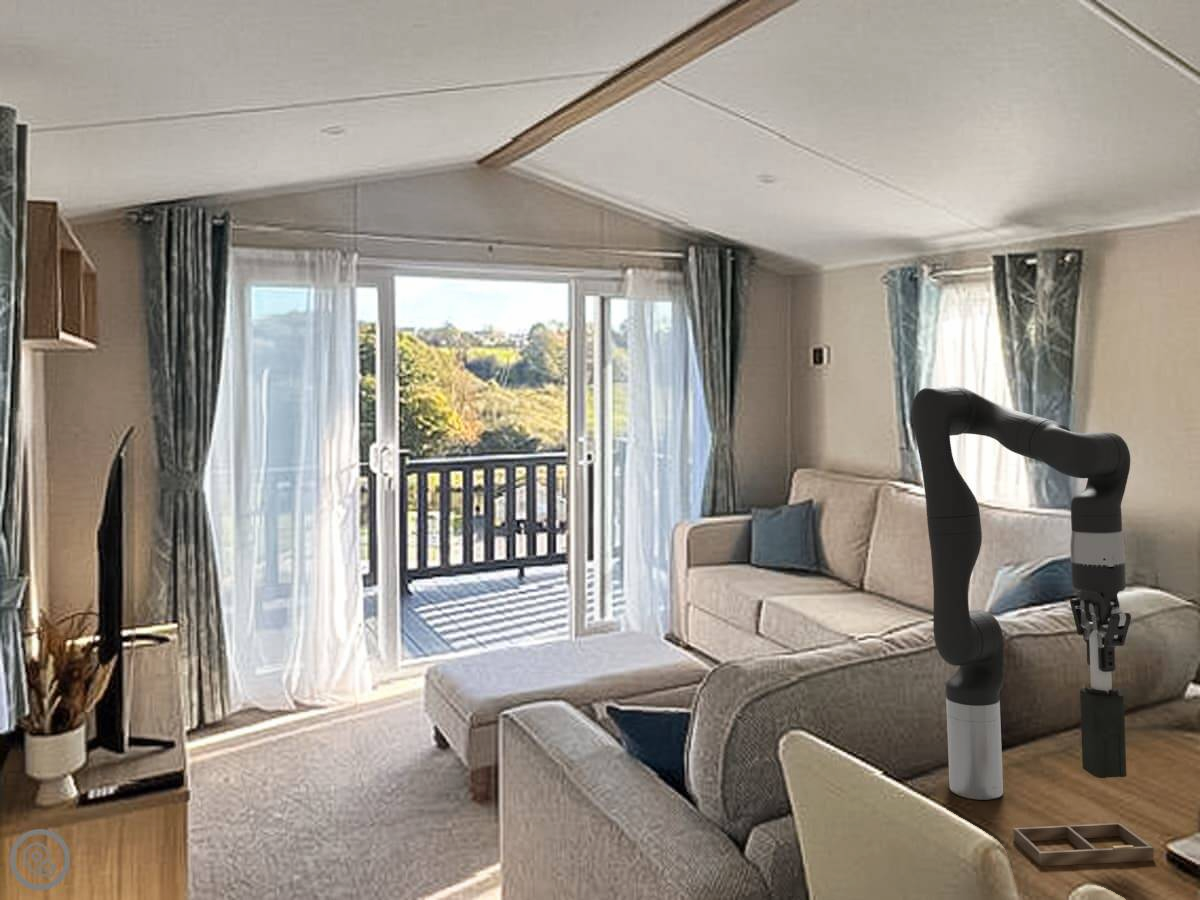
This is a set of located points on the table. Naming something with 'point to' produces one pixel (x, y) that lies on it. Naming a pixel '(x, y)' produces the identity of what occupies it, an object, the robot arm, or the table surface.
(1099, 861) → the divided wooden tray
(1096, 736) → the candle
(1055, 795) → the table surface
